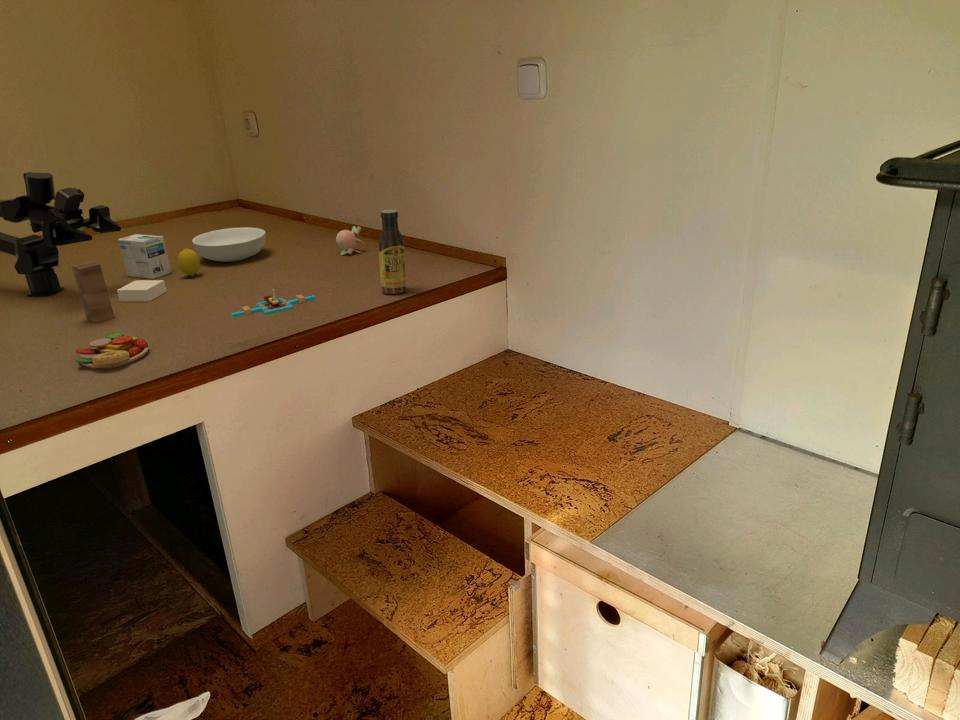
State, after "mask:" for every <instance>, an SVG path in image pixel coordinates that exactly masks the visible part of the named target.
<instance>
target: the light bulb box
mask: <svg viewBox="0 0 960 720" xmlns="http://www.w3.org/2000/svg"><path fill="white" fill-rule="evenodd" d="M117 242H118V245H119V249H120V252H121V253H120V254H121V257H122V261H123V264H124V268H125V271H126V275H127V277H133V278H134V277H135V278H142V279H149V280H151V279H152V280H155V279H157V278H160V277H163V276H166V275H169V274H172V269H171V264H170V261H169V256H168V252H167V249H166V243H165V240H164V236H163V235H149V234H140V233H139V234H138V233H136V234H132V235H128V236H124V237H121V238H118V239H117Z"/></svg>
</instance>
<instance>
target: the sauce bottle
mask: <svg viewBox="0 0 960 720" xmlns="http://www.w3.org/2000/svg"><path fill="white" fill-rule="evenodd" d="M380 218H381V226H382V227H381V228H382V229H381V232H380V235H379V238H378V259H379V273H380V274H379V275H380V277H379V278H380V286H381V291H382V293H384V294H385V295H387V294H388V295H398V294H402V293H404V291H405V292H406V289H407V287H406V285H407V273H406V272H407V271H406V255H405V254H406V253H405V243H404V238H403V235H402V233H401V232H400V229H399V225H398V224H399V223H398V221H399V220H398V218H399V214H398V210H397V209H384V210H381V211H380ZM401 292H402V293H401Z"/></svg>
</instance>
